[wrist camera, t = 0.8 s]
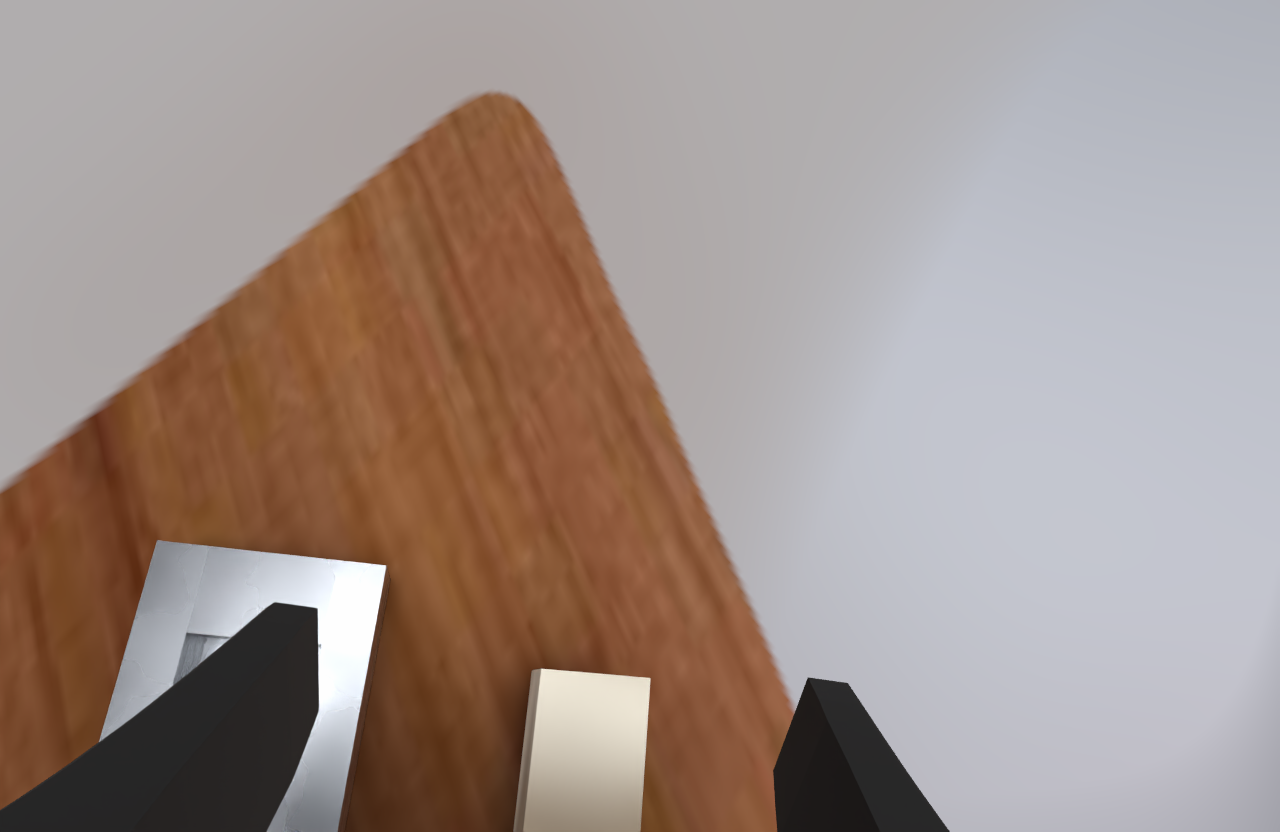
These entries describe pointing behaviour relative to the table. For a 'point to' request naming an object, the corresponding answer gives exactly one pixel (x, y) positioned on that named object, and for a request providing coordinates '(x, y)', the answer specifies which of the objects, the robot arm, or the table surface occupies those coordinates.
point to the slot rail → (222, 605)
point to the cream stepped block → (583, 753)
